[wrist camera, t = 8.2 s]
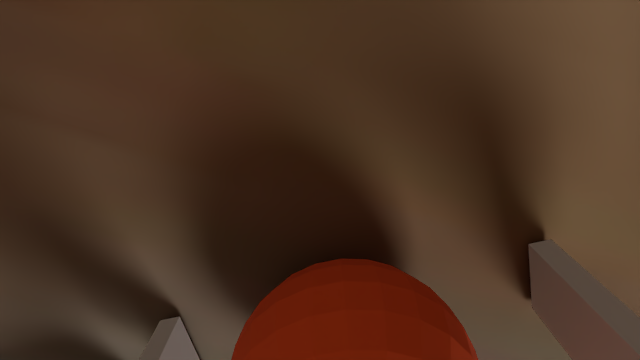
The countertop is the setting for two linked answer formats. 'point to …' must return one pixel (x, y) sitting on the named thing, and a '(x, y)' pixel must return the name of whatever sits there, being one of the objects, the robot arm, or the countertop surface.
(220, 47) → the countertop surface
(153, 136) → the countertop surface
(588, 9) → the countertop surface
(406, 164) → the countertop surface
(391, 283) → the clementine
